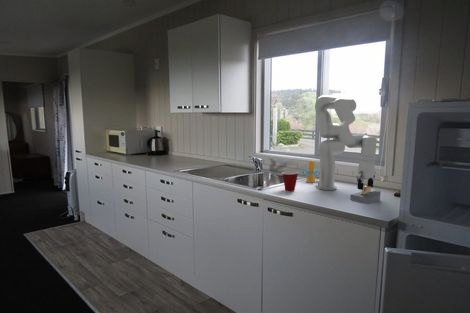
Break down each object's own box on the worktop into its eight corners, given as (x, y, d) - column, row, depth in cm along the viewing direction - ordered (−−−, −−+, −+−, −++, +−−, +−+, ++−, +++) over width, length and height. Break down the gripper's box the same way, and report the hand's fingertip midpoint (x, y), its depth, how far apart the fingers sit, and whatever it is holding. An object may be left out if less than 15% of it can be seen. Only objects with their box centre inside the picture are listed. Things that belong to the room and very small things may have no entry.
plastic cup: (288, 187, 214) (288, 169, 213) (301, 190, 206) (302, 172, 205) (277, 190, 207) (277, 171, 205) (291, 193, 199) (291, 174, 198)
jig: (350, 199, 185) (350, 190, 184) (362, 196, 192) (362, 187, 191) (368, 203, 176) (368, 194, 176) (380, 200, 183) (380, 191, 183)
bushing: (360, 199, 184) (360, 186, 183) (364, 198, 187) (365, 185, 186) (367, 201, 181) (368, 187, 180) (371, 200, 183) (372, 186, 182)
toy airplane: (301, 182, 231) (301, 161, 229) (303, 179, 240) (303, 159, 239) (318, 183, 227) (319, 162, 225) (320, 180, 236) (321, 160, 234)
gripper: (370, 156, 189) (367, 184, 192) (352, 158, 179) (350, 188, 182) (382, 158, 183) (379, 187, 186) (365, 160, 173) (362, 191, 176)
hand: (365, 188), depth 184 cm, fingers open, 9 cm apart
